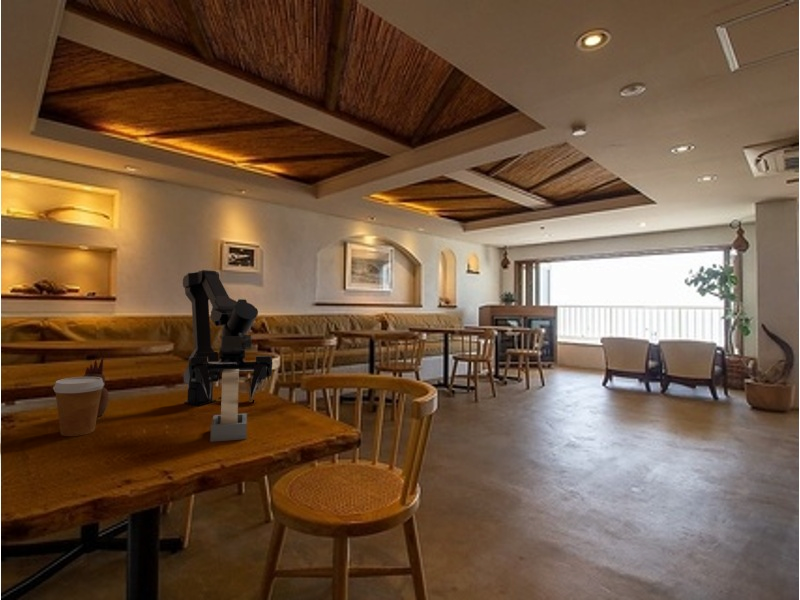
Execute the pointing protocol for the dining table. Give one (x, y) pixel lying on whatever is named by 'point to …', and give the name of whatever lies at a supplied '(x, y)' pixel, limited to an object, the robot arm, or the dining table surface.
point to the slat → (229, 396)
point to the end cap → (228, 429)
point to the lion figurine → (246, 387)
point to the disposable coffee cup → (78, 404)
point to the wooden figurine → (104, 393)
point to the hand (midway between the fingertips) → (230, 396)
